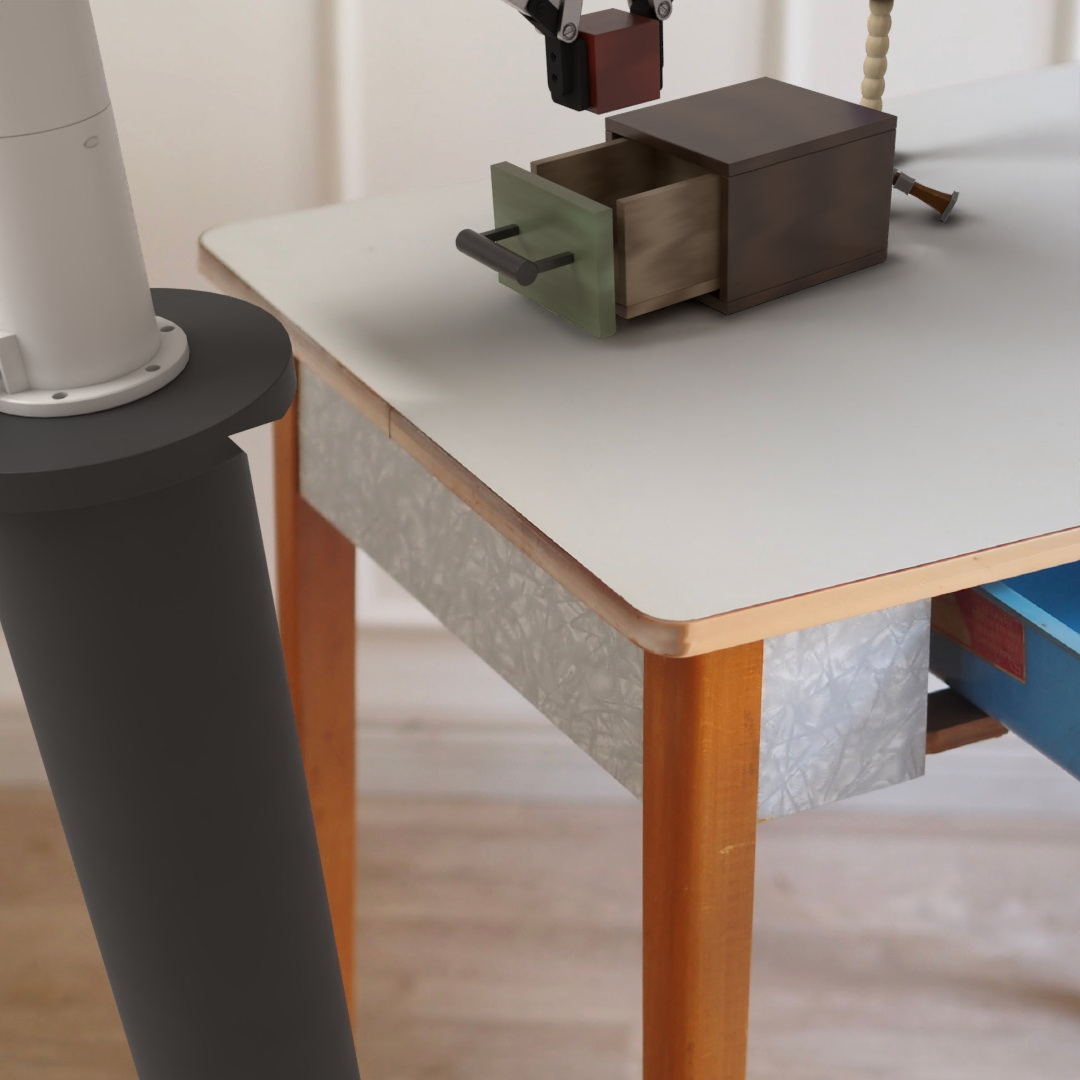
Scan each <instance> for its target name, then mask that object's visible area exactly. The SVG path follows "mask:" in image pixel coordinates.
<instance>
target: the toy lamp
mask: <svg viewBox="0 0 1080 1080" xmlns="http://www.w3.org/2000/svg"><path fill="white" fill-rule="evenodd" d="M868 1H869V2H868V8H869V11H870V14H869V16H868V18H867V24H866V27H867V32H868V35H867V37H866V39H865V45H864V46H865V53H866V56H865V58H864V60H863V64H862V71H863V75H864V76H863V78H862V80H861V84H860V92H861V95H862V97H861V99H860V100H859V104H858V105H862V106H865V107H868V108H872V109H875V110H878V111H882V112H883V99H882V97H883V95H884V92H885V90H886V81H885V75H886V72H887V71H888V59H887V54H888V52H889V48H890V36H889V34H890V31H891V29H892V24H893V22H892V16H891V13H892V11H893V8H894V4H895V0H868Z"/></svg>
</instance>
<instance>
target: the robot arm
mask: <svg viewBox="0 0 1080 1080" xmlns="http://www.w3.org/2000/svg"><path fill="white" fill-rule="evenodd" d="M501 1H502V2H503V3H504V4H506V5H508V6H509V7H512V8H513V9H515V10H516V11H517V12H518V13H519V14H520V15H522V17H523V18H524V19H526V20H527V21H528V22H529V24H531V25H532V26H533V27H534V30H535V31H536V33H538V34H539V35H542V36H544V47H545V48H544V49H545V63H546V64H545V65H546V80H547V81H546V82H547V87H548V90H549V93H550V98H551V100H552V102H553V103H554V104H556V105H559V106H561V107H565V108H567V109H571V110H573V111H575V112H580V113H581V112H584V111H587V109H588V108H589V106H590V90H589V68H588V47H587V43H586V40H583V39H580V38H578V32H579V26H580V19H581V15H582V11H583V4H584V0H501ZM626 2H627V6H628V9H629V13H633V14H636V15H640V16H644V17H647V18H651V19H654V20H658V21H659V58H660V91H662V90H663V87H664V75H663V74H664V72H663V69H664V66H665V65H664V64H665V59H664V58H665V57H664V56H665V55H664V21H666V20H668V19H669V18H670V17H671V15H672V13H673V2H674V0H626ZM91 8H92V7H91V4H90V0H0V412H3V413H6V414H9V415H16V416H22V417H34V418H55V417H69V416H77V415H84V414H90V413H95V412H99V411H104V410H108V409H112V408H115V407H118V406H122V405H125V404H128V403H131V402H133V401H136V400H138V399H141V398H143V397H146V396H148V395H150V394H152V393H153V392H155V391H157V390H159V389H161V388H163V387H164V386H165V385H167V384H168V383H170V382H171V381H172V380H174V379H175V378H176V377H177V376H178V375H179V374H180V373H181V372H182V371H183V369H184V368H185V366H186V364H187V362H188V360H189V353H190V351H189V346H188V342H187V337H186V334H185V333H184V331H183V330H182V329H181V328H180V327H179V326H177V325H176V324H175V323H173V322H171V321H169V320H167V319H164V318H162V317H159V316H155V312H154V307H153V302H152V297H151V292H150V288H151V287H150V283H149V278H148V273H147V269H146V264H145V260H144V254H143V249H142V245H141V240H140V235H139V230H138V225H137V220H136V217H135V216H136V215H135V211H134V206H133V201H132V197H131V191H130V187H129V182H128V178H127V177H128V176H127V173H126V168H125V167H126V166H125V163H124V158H123V153H122V147H121V142H120V139H119V134H118V129H117V125H116V124H117V123H116V119H115V113H114V109H113V105H112V100H111V97H110V93H109V88H108V82H107V79H106V74H105V68H104V63H103V59H102V55H101V50H100V45H99V41H98V36H97V32H96V26H95V21H94V17H93V13H92V9H91Z"/></svg>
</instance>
